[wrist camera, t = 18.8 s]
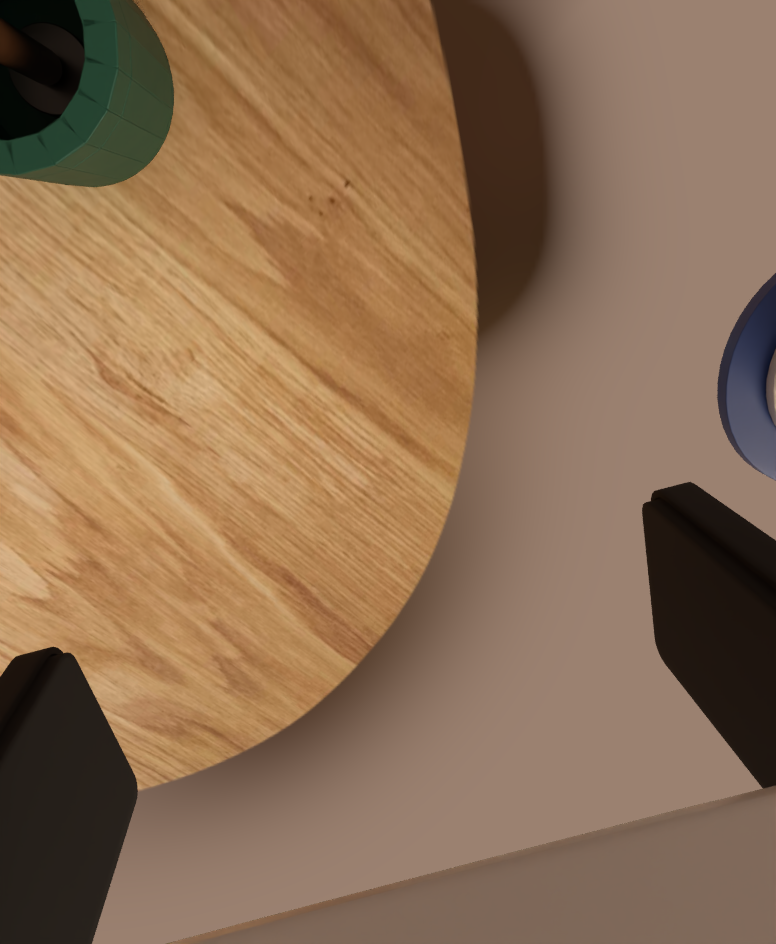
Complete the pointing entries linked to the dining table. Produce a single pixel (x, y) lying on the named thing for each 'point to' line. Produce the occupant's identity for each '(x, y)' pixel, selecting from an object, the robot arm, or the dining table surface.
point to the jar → (90, 98)
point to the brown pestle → (42, 64)
